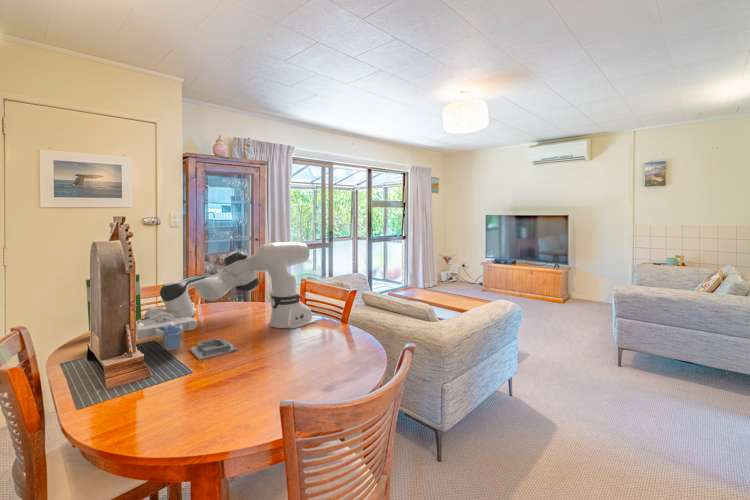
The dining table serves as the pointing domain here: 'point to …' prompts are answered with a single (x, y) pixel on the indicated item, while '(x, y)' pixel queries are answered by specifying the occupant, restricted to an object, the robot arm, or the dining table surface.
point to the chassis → (212, 348)
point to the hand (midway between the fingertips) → (172, 332)
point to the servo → (171, 336)
